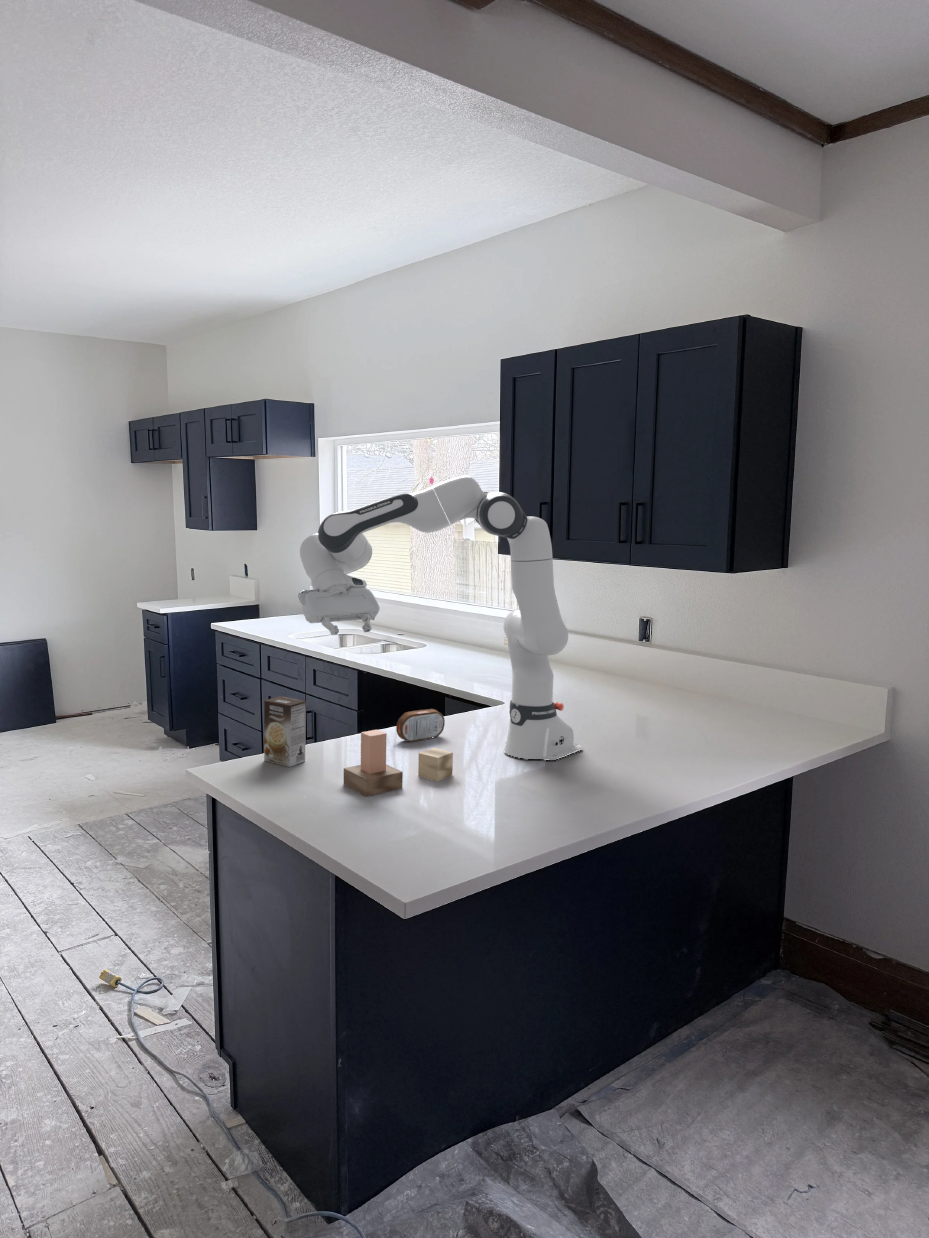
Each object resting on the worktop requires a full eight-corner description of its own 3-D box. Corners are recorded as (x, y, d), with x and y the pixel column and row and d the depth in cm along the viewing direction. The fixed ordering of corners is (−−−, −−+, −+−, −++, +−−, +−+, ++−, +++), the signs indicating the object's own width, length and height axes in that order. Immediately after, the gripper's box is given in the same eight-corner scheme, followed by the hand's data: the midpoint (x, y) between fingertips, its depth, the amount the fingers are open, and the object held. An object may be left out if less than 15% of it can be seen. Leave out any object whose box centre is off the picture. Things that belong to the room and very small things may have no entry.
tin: (440, 734, 247) (440, 706, 246) (446, 737, 244) (446, 708, 243) (395, 742, 238) (395, 712, 237) (401, 744, 236) (401, 715, 235)
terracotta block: (376, 766, 203) (377, 729, 202) (385, 770, 200) (386, 733, 199) (360, 769, 200) (361, 732, 199) (369, 773, 197) (370, 736, 196)
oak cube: (433, 770, 214) (433, 747, 213) (452, 775, 210) (452, 752, 210) (418, 776, 209) (418, 752, 208) (437, 781, 206) (438, 757, 205)
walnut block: (378, 776, 208) (379, 761, 207) (402, 788, 200) (402, 771, 199) (343, 784, 201) (343, 768, 201) (366, 796, 194) (366, 779, 193)
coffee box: (262, 761, 218) (262, 699, 215) (280, 755, 223) (279, 695, 221) (289, 767, 213) (289, 705, 211) (306, 761, 218) (307, 700, 216)
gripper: (300, 582, 209) (319, 627, 203) (370, 579, 222) (390, 621, 215) (291, 598, 213) (310, 643, 207) (361, 595, 226) (380, 636, 219)
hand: (352, 632), depth 211 cm, fingers open, 8 cm apart
